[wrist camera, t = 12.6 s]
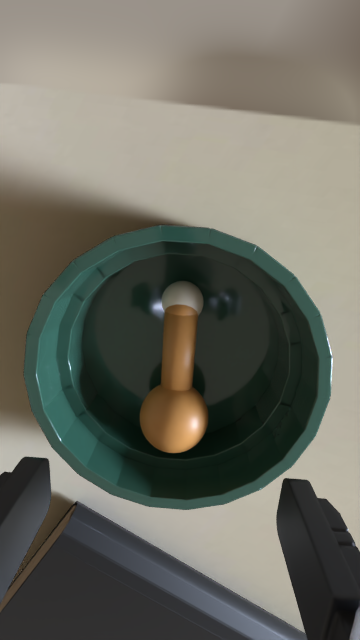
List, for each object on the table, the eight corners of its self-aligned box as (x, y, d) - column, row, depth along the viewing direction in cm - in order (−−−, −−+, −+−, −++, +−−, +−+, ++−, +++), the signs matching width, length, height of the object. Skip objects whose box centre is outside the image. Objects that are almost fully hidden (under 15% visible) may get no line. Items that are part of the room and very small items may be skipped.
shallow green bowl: (59, 220, 22) (10, 214, 16) (318, 236, 21) (364, 237, 16) (67, 439, 26) (32, 497, 21) (280, 456, 26) (305, 520, 20)
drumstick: (151, 275, 22) (136, 286, 18) (219, 280, 22) (223, 293, 17) (145, 423, 25) (131, 465, 21) (205, 429, 25) (205, 473, 20)
